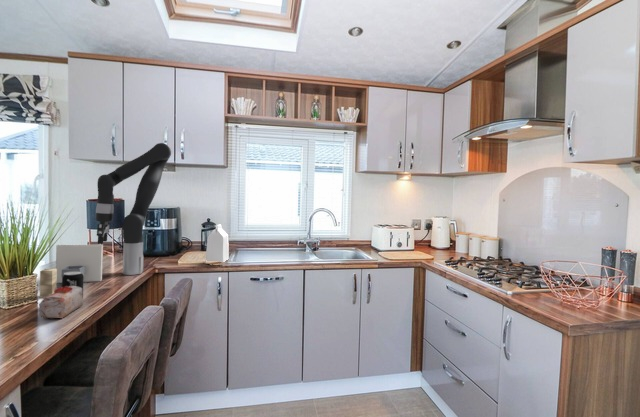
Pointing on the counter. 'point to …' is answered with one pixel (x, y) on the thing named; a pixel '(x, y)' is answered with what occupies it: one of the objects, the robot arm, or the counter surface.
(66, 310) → the food item
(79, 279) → the beverage can
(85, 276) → the white upright panel
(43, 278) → the rail post
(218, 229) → the milk
